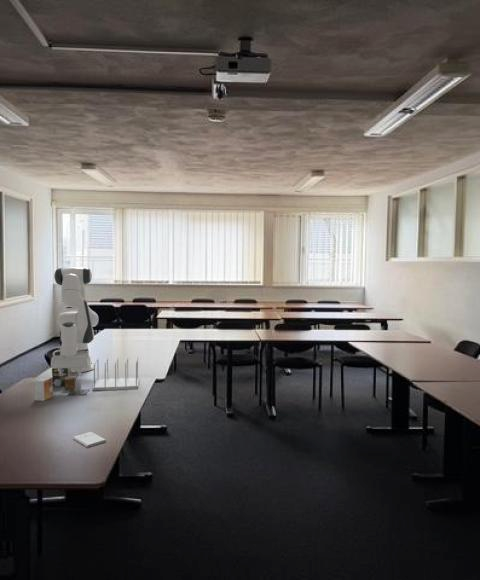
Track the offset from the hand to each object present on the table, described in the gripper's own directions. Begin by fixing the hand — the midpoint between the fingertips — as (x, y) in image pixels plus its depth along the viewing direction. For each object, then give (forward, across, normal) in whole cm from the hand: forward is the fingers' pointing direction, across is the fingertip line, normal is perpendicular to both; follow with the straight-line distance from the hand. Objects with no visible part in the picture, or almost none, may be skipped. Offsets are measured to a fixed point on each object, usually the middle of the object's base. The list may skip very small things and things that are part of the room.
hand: (70, 375), depth 267 cm
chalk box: (+8, +7, -11) cm, 15 cm away
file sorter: (+8, -25, -4) cm, 27 cm away
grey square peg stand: (+8, -6, +8) cm, 13 cm away
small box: (+8, +10, +16) cm, 21 cm away
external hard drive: (+10, -24, +78) cm, 82 cm away
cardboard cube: (+8, 0, -1) cm, 8 cm away
